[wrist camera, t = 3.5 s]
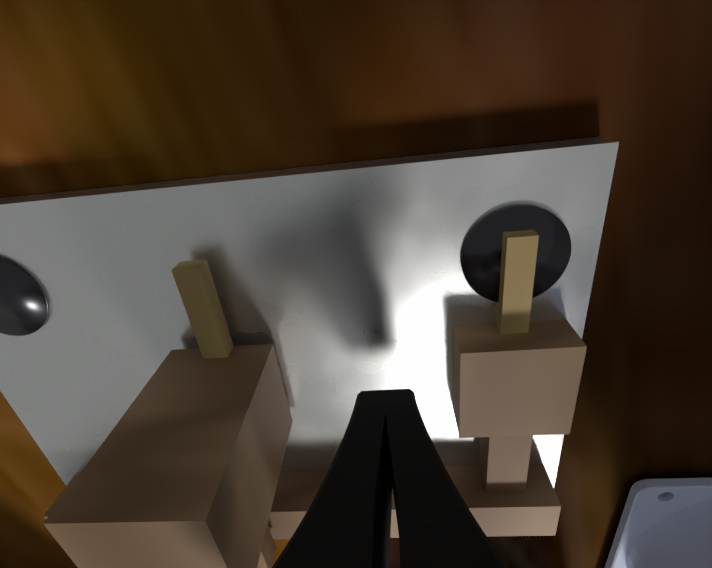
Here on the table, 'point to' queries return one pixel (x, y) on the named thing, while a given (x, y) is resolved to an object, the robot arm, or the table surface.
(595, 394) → the table surface
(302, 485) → the beam and fixed leg
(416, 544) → the robot arm
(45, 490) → the table surface
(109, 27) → the table surface
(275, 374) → the sliding leg
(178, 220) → the steel plate
